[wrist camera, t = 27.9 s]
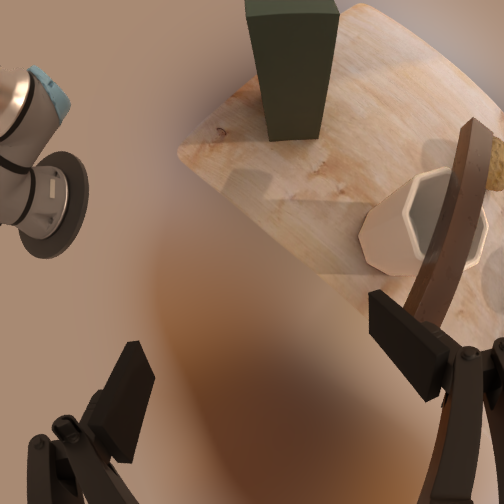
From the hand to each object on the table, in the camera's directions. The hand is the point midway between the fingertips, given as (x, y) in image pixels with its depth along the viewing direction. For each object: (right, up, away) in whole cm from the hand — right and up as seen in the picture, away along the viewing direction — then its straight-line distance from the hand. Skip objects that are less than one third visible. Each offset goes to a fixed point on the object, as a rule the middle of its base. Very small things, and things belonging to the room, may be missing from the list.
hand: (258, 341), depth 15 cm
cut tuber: (+41, +20, +25) cm, 52 cm away
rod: (+19, +8, +8) cm, 22 cm away
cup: (+21, +7, +26) cm, 35 cm away
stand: (+6, +28, +29) cm, 41 cm away
